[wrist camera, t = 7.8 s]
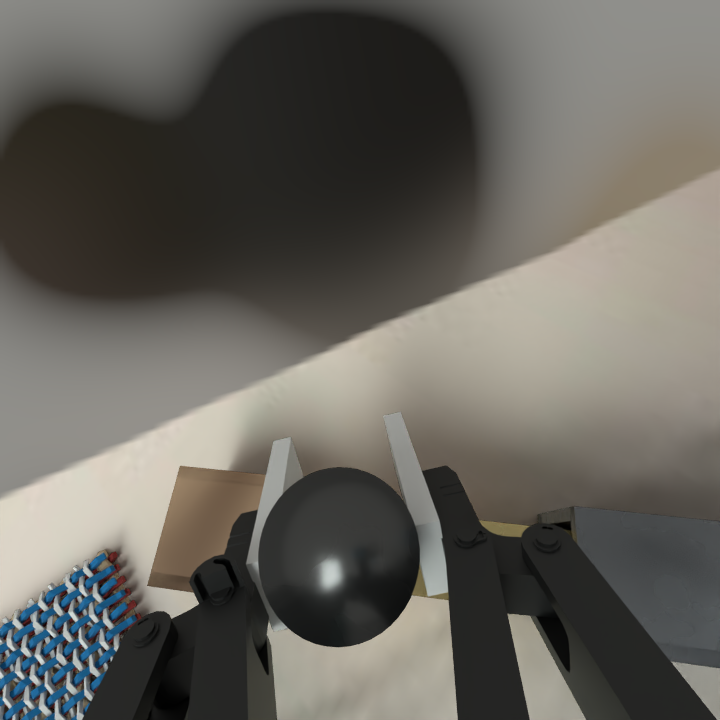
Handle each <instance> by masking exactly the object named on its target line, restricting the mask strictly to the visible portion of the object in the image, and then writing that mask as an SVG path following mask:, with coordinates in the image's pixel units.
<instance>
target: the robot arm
mask: <svg viewBox="0 0 720 720" xmlns="http://www.w3.org/2000/svg"><path fill="white" fill-rule="evenodd" d="M383 417H384V422H385V426H386V431H387V435H388V440H389V444H390V449H391V453H392V458H393V462H394V467H395V471H396V475H397V478H398V482H399V486H400V490H401V494H402V498H403V502H404V503H405V505H406V506H407V508H408V510H409V512H410V514H411V516H412V518H413V521H414V523H415V526H416V530H417V534H418V539H419V546H420V568H421V571H422V575H423V579H424V583H425V587H426V591H427V595H428V596H433V595H437V594H442V593H446V592H448V596H449V609H450V622H451V635H452V648H453V661H454V674H455V687H456V700H457V713H458V720H530V719H529V715H528V710H527V705H526V700H525V696H524V691H523V686H522V681H521V677H520V672H519V667H518V662H517V658H516V653H515V648H514V643H513V639H512V634H511V629H510V624H509V620H508V615H507V613H509V614H519V615H530V616H531V618H532V620H533V622H534V624H535V625H536V627H537V629H538V631H539V633H540V635H541V637H542V638H543V640H544V642H545V644H546V646H547V648H548V650H549V651H550V653H551V655H552V657H553V659H554V661H555V663H556V664H557V666H558V668H559V670H560V672H561V674H562V676H563V677H564V679H565V681H566V683H567V685H568V687H569V688H570V690H571V692H572V694H573V696H574V698H575V700H576V701H577V703H578V705H579V707H580V709H581V711H582V713H583V714H584V716H585V718H586V720H717V719H716V718H715V717H714V716H713V714H712V713H711V712H710V711H709V709H708V708H707V707H706V706H705V704H704V703H703V702H702V700H701V699H700V698H699V697H698V695H697V694H696V693H695V692H694V690H693V689H692V688H691V687H690V685H689V684H688V683H687V682H686V680H685V679H684V678H683V677H682V675H681V674H680V673H679V672H678V670H677V669H676V668H675V667H674V665H673V664H672V663H671V661H670V660H669V659H668V658H667V656H666V655H665V654H664V653H663V651H662V650H661V649H660V648H659V646H658V645H657V644H656V643H655V641H654V640H653V639H652V638H651V636H650V635H649V634H648V633H647V631H646V630H645V629H644V628H643V626H642V625H641V624H640V623H639V621H638V620H637V619H636V617H635V616H634V615H633V614H632V612H631V611H630V610H629V609H628V607H627V606H626V605H625V604H624V602H623V601H622V600H621V599H620V597H619V596H618V595H617V594H616V592H615V591H614V590H613V589H612V587H611V586H610V585H609V584H608V582H607V581H606V580H605V578H604V577H603V576H602V575H601V573H600V572H599V571H598V570H597V568H596V567H595V566H594V565H593V563H592V562H591V561H590V560H589V558H588V557H587V556H586V555H585V553H584V552H583V551H582V550H581V548H580V547H579V546H578V545H577V543H576V542H575V541H574V539H573V538H572V537H571V536H570V535H569V534H568V533H567V532H566V531H565V530H564V529H562V528H560V527H557V526H555V525H552V524H546V523H541V524H534V525H532V526H530V527H527V528H526V529H525V530H524V532H523V533H522V536H521V537H510V536H501V535H497V534H494V533H492V532H490V531H488V530H487V529H486V528H485V527H483V526H482V524H481V523H480V521H479V519H478V517H477V515H476V513H475V511H474V509H473V507H472V505H471V503H470V501H469V499H468V497H467V495H466V493H465V490H464V488H463V486H462V485H461V482H460V480H459V478H458V476H457V474H456V472H454V471H453V470H452V469H450V468H449V467H448V466H442V467H438V468H434V469H429V470H425V471H422V470H421V467H420V465H419V462H418V459H417V456H416V453H415V451H414V448H413V445H412V442H411V439H410V437H409V434H408V431H407V428H406V425H405V423H404V420H403V417H402V414H401V412H397V413H393V414H388V415H384V416H383ZM303 477H304V476H303V473H302V470H301V467H300V463H299V460H298V457H297V454H296V451H295V448H294V445H293V441H292V438H291V437H288V438H284V439H279V440H275V441H274V442H273V446H272V450H271V455H270V459H269V464H268V468H267V473H266V477H265V482H264V486H263V491H262V495H261V499H260V504H259V508H258V510H254V511H250V512H245V513H241V514H240V516H239V517H238V518H237V520H236V521H235V522H234V524H233V526H232V529H231V532H230V536H229V537H230V538H229V539H228V543H227V548H226V549H225V553H224V555H223V554H222V555H218V556H214V557H212V558H210V559H208V560H206V561H204V562H203V563H202V564H201V565H200V566H198V567H197V568H196V570H195V571H194V572H193V574H192V575H191V578H190V581H189V584H190V586H191V588H192V590H193V592H194V594H195V596H196V598H197V600H198V602H199V604H198V605H197V606H196V607H194V608H192V609H191V610H189V611H187V612H185V613H183V614H181V615H179V616H177V617H175V618H173V619H171V617H170V615H169V614H167V613H166V612H164V611H156V612H153V613H151V614H148V615H146V616H144V617H143V618H141V619H140V620H138V621H137V622H136V623H135V624H134V625H133V626H132V627H131V628H130V629H129V630H128V631H127V633H126V634H125V636H124V637H123V639H122V641H121V643H120V645H119V647H118V649H117V651H116V653H115V655H114V657H113V659H112V661H111V663H110V665H109V667H108V669H107V671H106V673H105V675H104V677H103V679H102V681H101V683H100V685H99V687H98V689H97V691H96V693H95V695H94V697H93V699H92V701H91V703H90V705H89V707H88V709H87V711H86V713H85V715H84V717H83V719H82V720H277V713H276V701H275V689H274V677H273V664H272V652H271V645H270V642H269V639H268V636H267V628H268V620H269V621H270V624H271V626H272V629H273V631H279V630H283V629H287V627H286V626H285V625H284V624H283V623H282V621H281V620H280V619H279V618H278V617H277V615H276V614H275V613H274V611H273V610H272V608H271V606H270V604H269V602H268V601H267V599H266V596H265V593H264V591H263V588H262V584H261V580H260V576H259V567H258V551H259V543H260V538H261V534H262V530H263V527H264V524H265V522H266V519H267V517H268V515H269V513H270V511H271V509H272V508H273V506H274V505H275V503H276V502H277V500H278V499H279V498H280V497H281V495H282V494H283V493H284V492H285V491H286V490H287V489H288V488H289V487H290V486H292V485H293V484H294V483H296V482H297V481H298V480H300V479H301V478H303Z"/></svg>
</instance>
